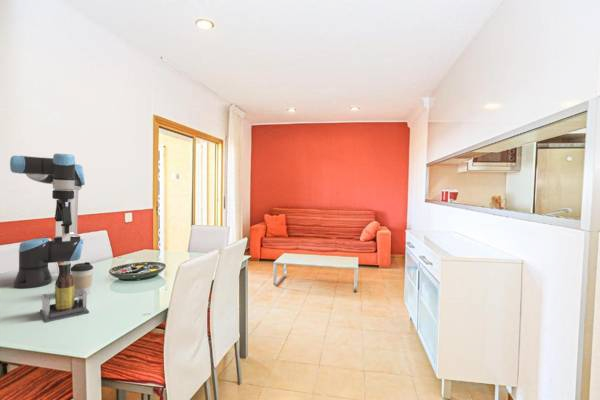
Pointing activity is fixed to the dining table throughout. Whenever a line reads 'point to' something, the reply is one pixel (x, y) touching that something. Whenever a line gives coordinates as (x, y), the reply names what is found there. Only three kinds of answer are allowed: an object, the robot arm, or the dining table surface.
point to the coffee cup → (82, 277)
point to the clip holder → (52, 315)
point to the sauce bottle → (64, 288)
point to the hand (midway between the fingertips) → (62, 238)
